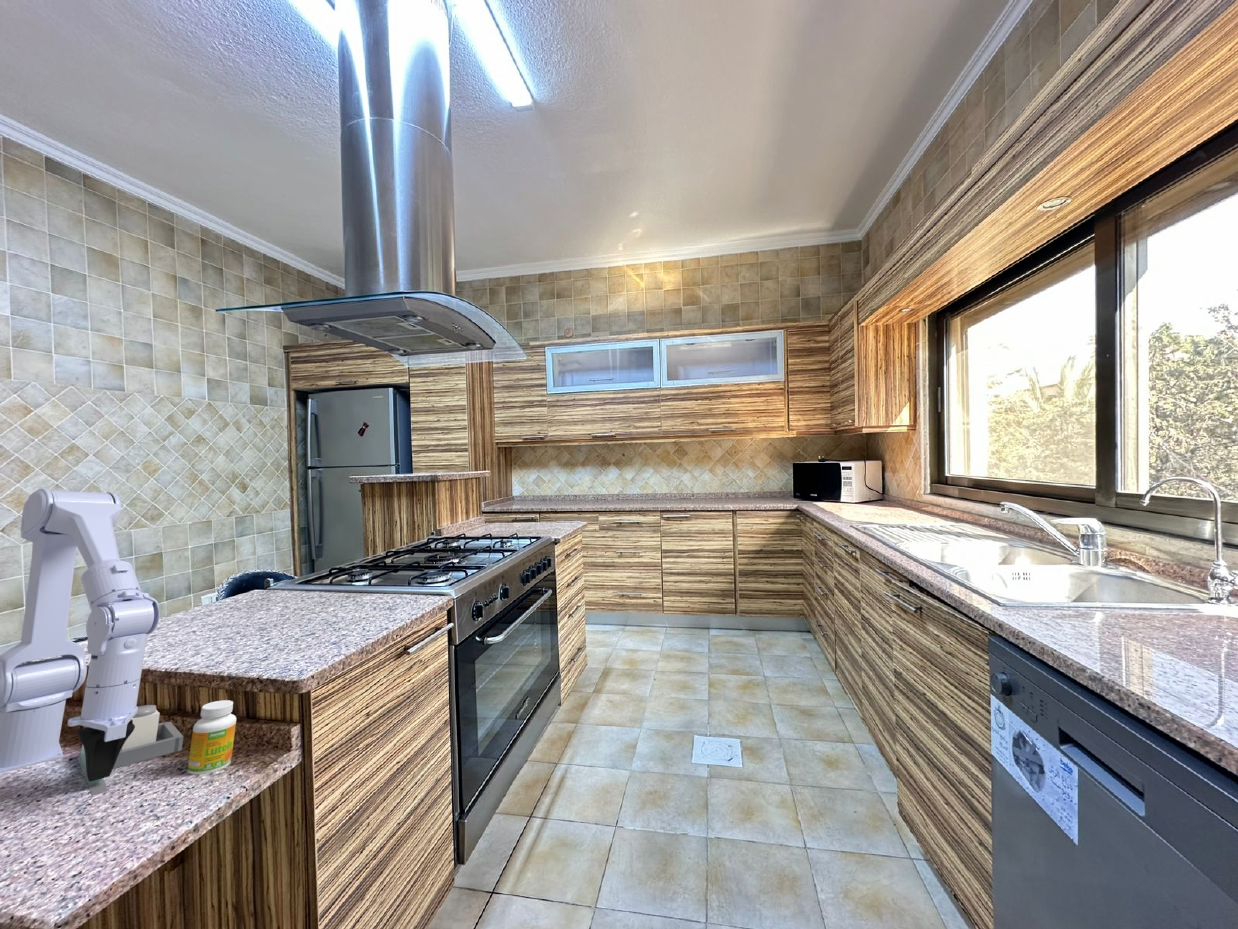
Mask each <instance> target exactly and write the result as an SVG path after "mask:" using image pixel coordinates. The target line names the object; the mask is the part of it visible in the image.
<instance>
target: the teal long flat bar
mask: <svg viewBox="0 0 1238 929" xmlns="http://www.w3.org/2000/svg"><path fill="white" fill-rule="evenodd" d="M81 744H82V743H81ZM79 757H80V758H81V760H82V763H83V765H84V768H85V770H86V759H85V751H84V746H83V744H82V745H81V751H80V756H79ZM86 773H87V772H86ZM101 781H102V779H99V780H95V781H91V785H93V784H96V783H100V782H101Z"/></svg>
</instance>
